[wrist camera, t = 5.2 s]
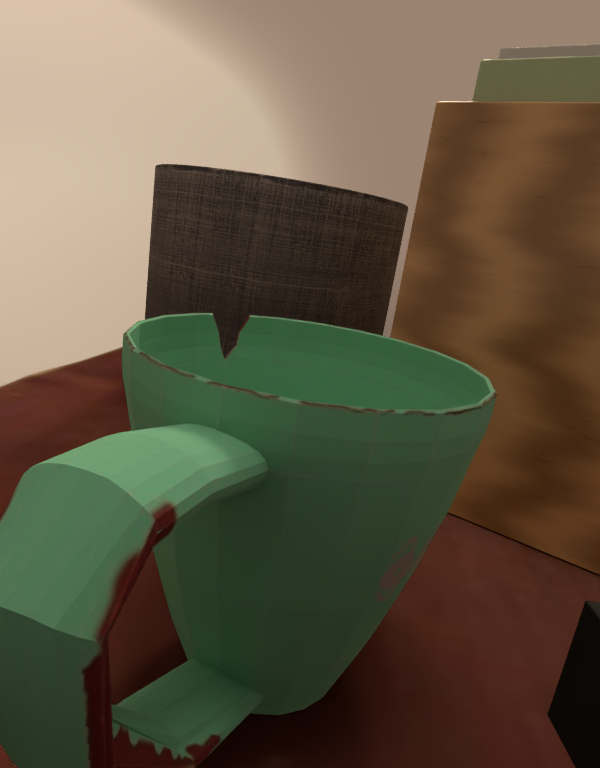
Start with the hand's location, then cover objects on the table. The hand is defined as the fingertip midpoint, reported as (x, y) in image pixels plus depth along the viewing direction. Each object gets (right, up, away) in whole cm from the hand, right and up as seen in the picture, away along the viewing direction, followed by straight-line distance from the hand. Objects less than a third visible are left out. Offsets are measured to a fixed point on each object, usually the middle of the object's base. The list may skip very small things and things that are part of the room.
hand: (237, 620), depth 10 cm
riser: (+16, -2, +25) cm, 30 cm away
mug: (-1, -5, +5) cm, 7 cm away
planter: (-2, +3, +33) cm, 33 cm away
